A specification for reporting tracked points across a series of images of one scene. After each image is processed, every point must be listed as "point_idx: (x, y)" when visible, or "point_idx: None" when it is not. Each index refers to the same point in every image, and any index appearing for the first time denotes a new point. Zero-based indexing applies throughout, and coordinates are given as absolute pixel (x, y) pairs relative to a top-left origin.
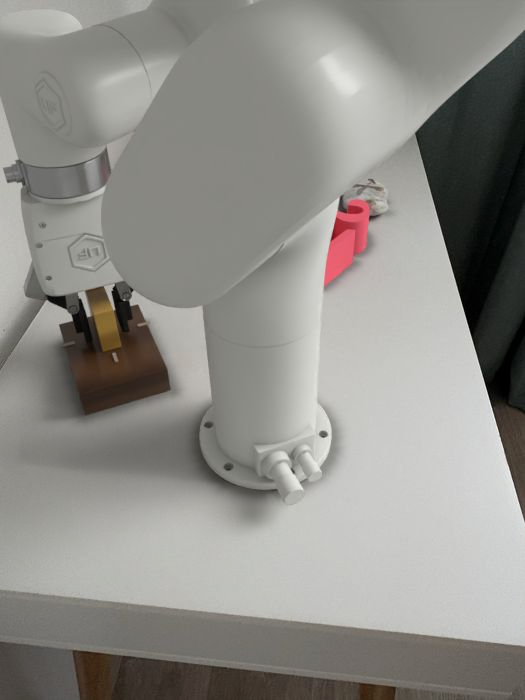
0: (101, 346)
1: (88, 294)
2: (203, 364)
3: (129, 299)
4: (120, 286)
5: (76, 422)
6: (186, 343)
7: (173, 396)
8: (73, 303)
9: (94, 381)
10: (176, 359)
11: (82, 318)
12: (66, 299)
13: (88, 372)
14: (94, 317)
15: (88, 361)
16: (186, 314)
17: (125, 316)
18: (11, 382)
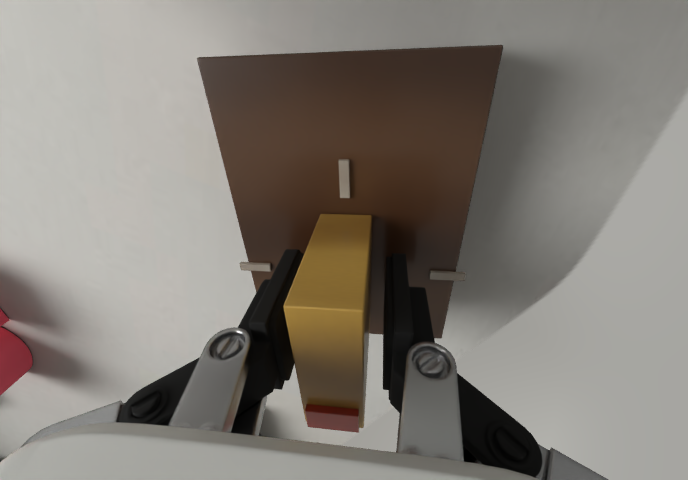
0: (370, 225)
1: (356, 396)
2: (157, 122)
3: (226, 329)
4: (215, 393)
5: (507, 27)
6: (197, 205)
7: (232, 26)
8: (427, 386)
9: (430, 96)
10: (219, 165)
11: (404, 317)
12: (458, 419)
13: (434, 148)
14: (363, 299)
15: (418, 196)
16: (197, 279)
17: (271, 283)
18: (578, 243)
